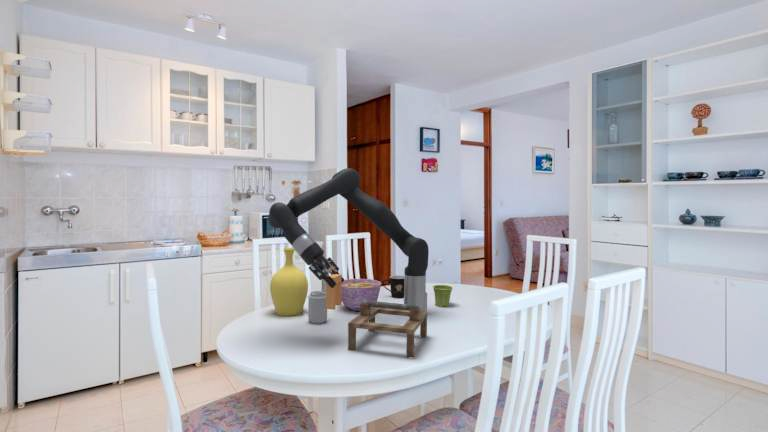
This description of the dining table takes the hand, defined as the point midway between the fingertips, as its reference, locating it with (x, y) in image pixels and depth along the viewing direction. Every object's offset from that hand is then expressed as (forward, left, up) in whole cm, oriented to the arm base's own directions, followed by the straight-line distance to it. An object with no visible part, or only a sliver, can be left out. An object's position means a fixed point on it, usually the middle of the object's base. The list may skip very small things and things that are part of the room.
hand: (338, 284), depth 147 cm
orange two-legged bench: (+1, -1, -8) cm, 8 cm away
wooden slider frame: (-17, +6, -20) cm, 27 cm away
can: (+3, -25, -20) cm, 32 cm away
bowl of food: (-18, -40, -20) cm, 48 cm away
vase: (+13, -41, -20) cm, 48 cm away
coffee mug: (-41, -57, -20) cm, 73 cm away
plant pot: (-57, -35, -20) cm, 70 cm away
